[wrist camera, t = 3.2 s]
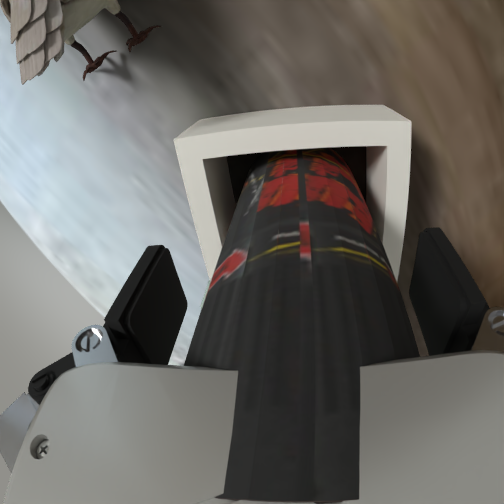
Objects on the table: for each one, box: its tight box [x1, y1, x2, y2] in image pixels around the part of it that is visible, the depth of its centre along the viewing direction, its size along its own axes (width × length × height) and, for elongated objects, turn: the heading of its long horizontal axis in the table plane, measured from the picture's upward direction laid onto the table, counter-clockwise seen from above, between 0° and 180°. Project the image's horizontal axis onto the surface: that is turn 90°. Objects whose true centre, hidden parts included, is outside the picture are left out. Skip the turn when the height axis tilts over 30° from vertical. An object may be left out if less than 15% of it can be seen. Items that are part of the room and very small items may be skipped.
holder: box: [174, 105, 411, 282], centre depth 15 cm, size 9×9×4 cm
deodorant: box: [184, 147, 420, 504], centre depth 11 cm, size 6×6×15 cm
